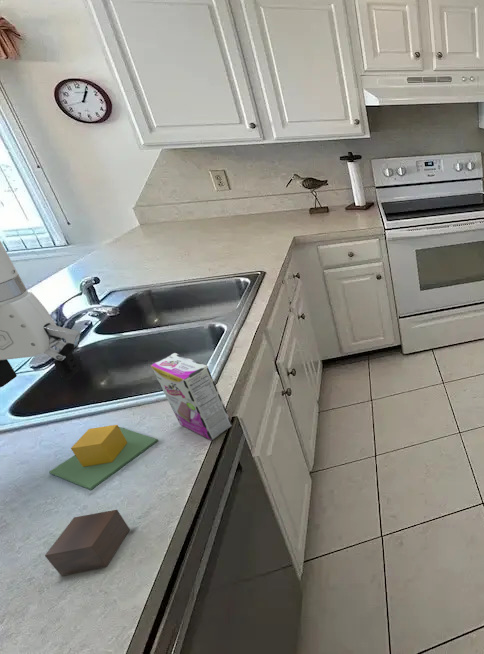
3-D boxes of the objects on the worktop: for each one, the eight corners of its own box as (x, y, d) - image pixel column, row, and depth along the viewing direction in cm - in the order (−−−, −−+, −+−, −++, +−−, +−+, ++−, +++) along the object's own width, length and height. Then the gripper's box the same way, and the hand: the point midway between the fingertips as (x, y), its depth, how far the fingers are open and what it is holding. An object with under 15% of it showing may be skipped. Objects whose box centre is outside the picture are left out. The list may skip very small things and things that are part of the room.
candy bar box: (178, 426, 89) (148, 365, 82) (201, 411, 93) (175, 351, 86) (211, 442, 84) (182, 379, 77) (234, 425, 88) (208, 364, 81)
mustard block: (82, 467, 79) (70, 448, 77) (100, 446, 83) (88, 428, 81) (112, 462, 80) (100, 443, 78) (127, 442, 84) (117, 424, 82)
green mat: (49, 473, 78) (48, 471, 78) (119, 428, 89) (118, 426, 88) (91, 490, 75) (89, 488, 75) (158, 440, 85) (157, 439, 85)
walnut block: (61, 576, 62) (44, 555, 60) (88, 537, 67) (74, 517, 65) (106, 566, 63) (91, 546, 61) (130, 529, 68) (117, 509, 66)
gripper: (-104, 308, 60) (-40, 399, 68) (34, 297, 64) (82, 385, 71) (-53, 286, 67) (0, 371, 74) (70, 277, 70) (110, 360, 77)
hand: (40, 378), depth 73 cm, fingers open, 9 cm apart
